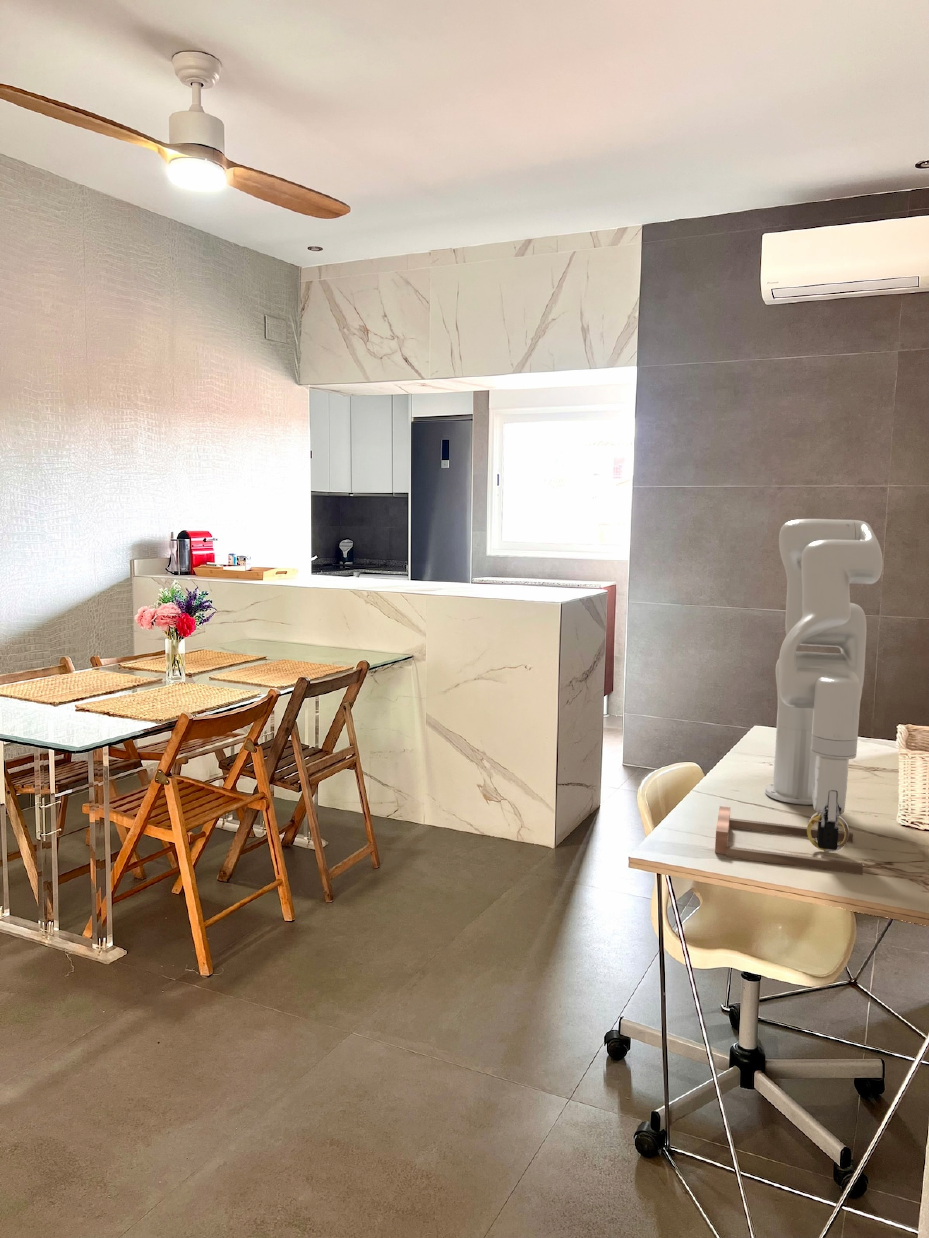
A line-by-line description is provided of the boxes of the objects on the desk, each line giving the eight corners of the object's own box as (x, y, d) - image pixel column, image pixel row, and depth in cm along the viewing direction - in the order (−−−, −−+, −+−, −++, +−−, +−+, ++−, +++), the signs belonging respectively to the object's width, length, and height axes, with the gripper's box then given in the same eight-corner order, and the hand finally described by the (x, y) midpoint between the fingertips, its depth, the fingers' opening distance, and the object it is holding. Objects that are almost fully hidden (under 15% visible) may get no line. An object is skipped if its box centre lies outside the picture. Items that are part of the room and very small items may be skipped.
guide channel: (718, 824, 173) (719, 804, 173) (852, 840, 166) (853, 819, 166) (714, 854, 157) (715, 832, 157) (862, 874, 150) (864, 851, 149)
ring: (847, 852, 159) (851, 809, 159) (847, 858, 157) (850, 814, 156) (806, 845, 162) (809, 803, 162) (805, 851, 160) (807, 808, 159)
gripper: (808, 734, 166) (802, 829, 168) (813, 754, 151) (806, 858, 153) (852, 738, 164) (845, 834, 166) (861, 759, 149) (853, 864, 151)
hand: (826, 845), depth 159 cm, fingers closed on ring, 1 cm apart
